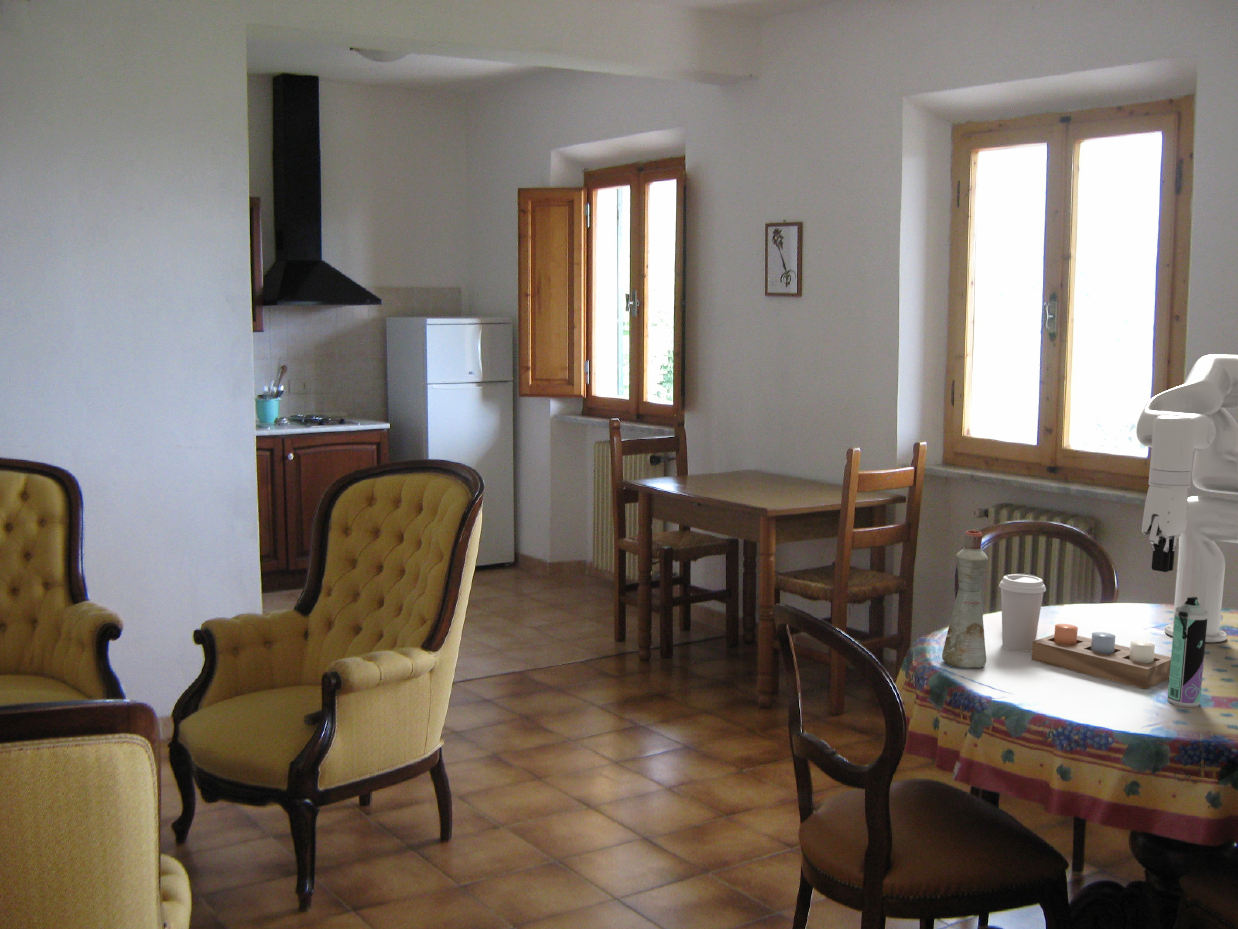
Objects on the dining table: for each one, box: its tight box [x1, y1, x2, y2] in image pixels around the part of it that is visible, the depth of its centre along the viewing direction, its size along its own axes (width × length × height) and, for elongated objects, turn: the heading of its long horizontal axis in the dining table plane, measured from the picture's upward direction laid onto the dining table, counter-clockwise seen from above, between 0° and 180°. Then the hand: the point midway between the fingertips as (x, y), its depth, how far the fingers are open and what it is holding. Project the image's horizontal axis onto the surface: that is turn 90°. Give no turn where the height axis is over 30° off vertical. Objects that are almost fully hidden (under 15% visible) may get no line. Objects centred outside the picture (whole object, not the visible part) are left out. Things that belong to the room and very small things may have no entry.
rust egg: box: [1053, 623, 1079, 646], centre depth 251 cm, size 4×4×5 cm
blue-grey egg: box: [1091, 631, 1116, 655], centre depth 245 cm, size 4×4×5 cm
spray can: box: [1167, 597, 1208, 708], centre depth 224 cm, size 6×6×20 cm
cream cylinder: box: [1129, 640, 1156, 664], centre depth 239 cm, size 4×4×5 cm
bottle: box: [941, 529, 989, 669], centre depth 244 cm, size 9×9×28 cm
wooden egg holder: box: [1030, 634, 1171, 690], centre depth 245 cm, size 12×24×4 cm, turn 42°
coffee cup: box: [998, 573, 1047, 652], centre depth 259 cm, size 10×10×15 cm
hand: (1162, 569), depth 241 cm, fingers closed
